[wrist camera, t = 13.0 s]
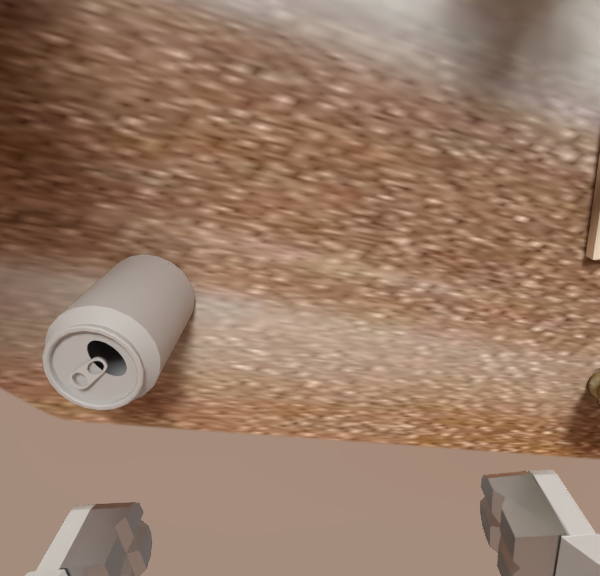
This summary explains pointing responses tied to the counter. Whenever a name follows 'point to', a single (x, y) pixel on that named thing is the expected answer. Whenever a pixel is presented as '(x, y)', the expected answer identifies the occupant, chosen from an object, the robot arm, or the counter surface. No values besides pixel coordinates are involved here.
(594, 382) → the chocolate bunny
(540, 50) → the counter surface
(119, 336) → the can
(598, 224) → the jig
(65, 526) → the robot arm
